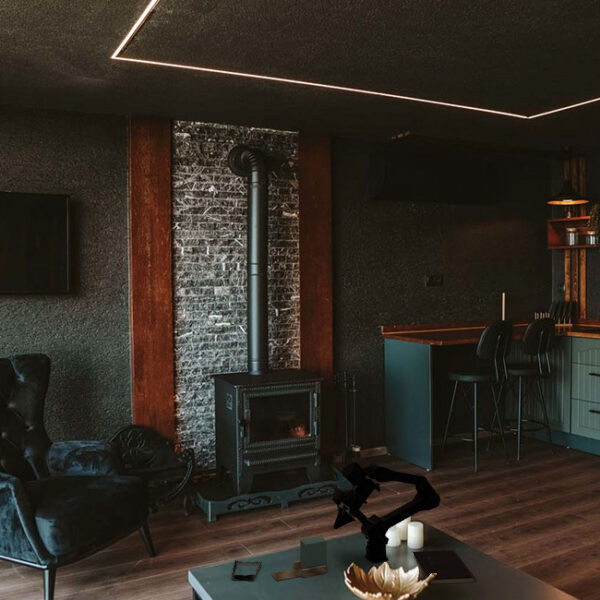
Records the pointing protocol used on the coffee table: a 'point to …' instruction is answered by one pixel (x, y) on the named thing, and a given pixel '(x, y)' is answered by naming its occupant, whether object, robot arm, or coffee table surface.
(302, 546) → the block
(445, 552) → the hardcover book
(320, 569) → the chute
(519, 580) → the coffee table surface
